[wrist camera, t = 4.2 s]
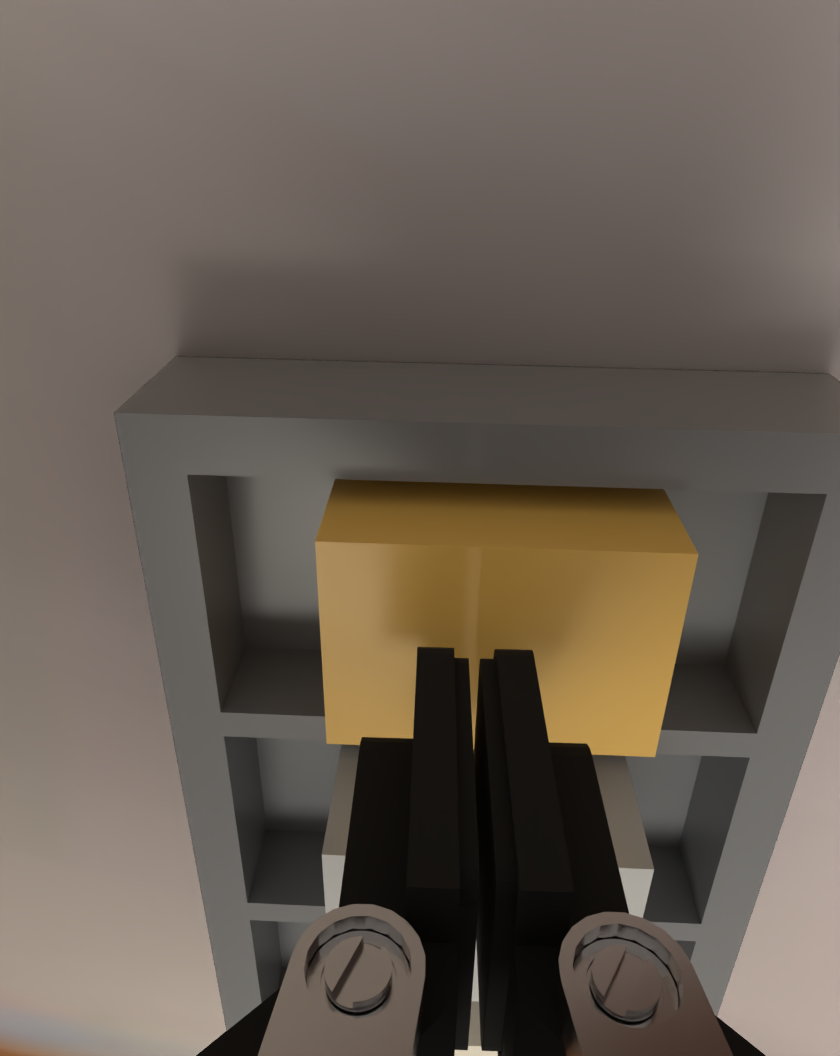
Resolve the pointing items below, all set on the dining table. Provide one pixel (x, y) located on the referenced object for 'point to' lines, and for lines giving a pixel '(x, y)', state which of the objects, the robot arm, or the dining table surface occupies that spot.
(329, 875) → the key grey
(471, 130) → the dining table surface
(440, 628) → the yellow rectangular block
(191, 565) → the keypad frame
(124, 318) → the dining table surface
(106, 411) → the dining table surface
